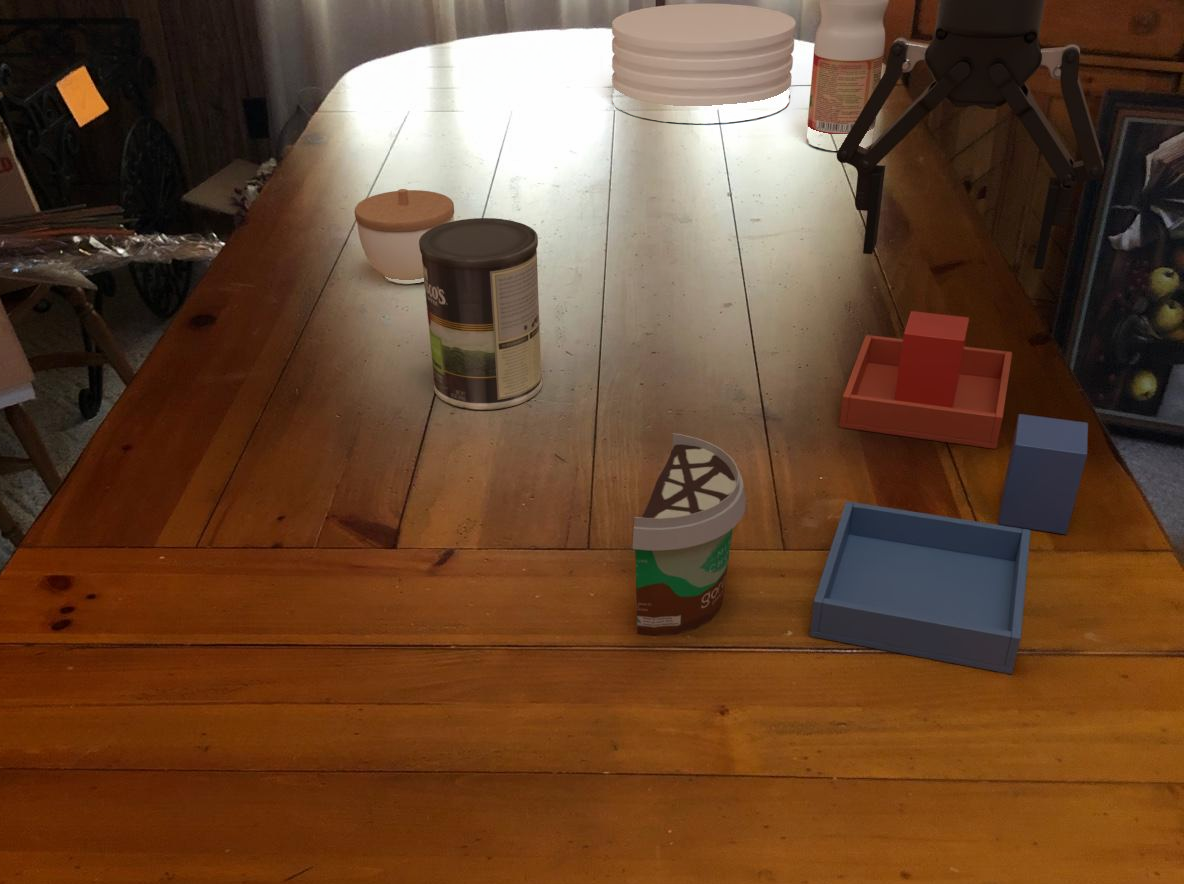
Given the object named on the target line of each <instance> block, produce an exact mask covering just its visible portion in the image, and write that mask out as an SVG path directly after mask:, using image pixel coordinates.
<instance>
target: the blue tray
mask: <svg viewBox="0 0 1184 884" xmlns="http://www.w3.org/2000/svg"><path fill="white" fill-rule="evenodd" d="M1031 533H1032V529H1026V528H1019V527H1013V526H1006V525H1000V524H995V523H989V522H983V521H977V520H969V519H963V518H957V517H950V516H944V515H937V514H931V513H924V512H918V511H912V510H906V509H899V508H893V507H886V506H882V505H881V506H880V505H874V504H866V503H861V502H854V501H845V502H844V505H843V508H842V512H841V515H840V518H839V521H838V524H837V527H836V530H835V533H834V536H833V539H832V542H831V546H830V549H829V551H828V555H827V558H826V561H825V564H824V568H823V571H822V574H821V577H820V580H819V584H818V586H817V589H816V592H815V595H814V598H813V602H812V611H811V621H810V628H809V629H810V630H809V637H812V638H815V639H816V638H817V639H821V640H828V641H832V642H838V643H841V644H842V643H843V644H849V645H852V646H853V645H854V646H859V647H864V648H869V649H875V650H880V651H885V652H891V653H897V654H900V655H901V654H902V655H907V656H911V657H912V656H913V657H917V658H923V659H928V660H934V661H939V662H943V663H949V664H955V665H960V666H965V667H969V668H970V667H971V668H974V669H975V668H976V669H981V670H987V671H991V672H996V673H1002V674H1008V675H1013V673H1014V668H1015V664H1016V660H1017V656H1018V651H1019V649H1020V644H1021V640H1022V632H1023V620H1024V608H1025V598H1026V587H1027V576H1028V567H1029V566H1028V565H1029V557H1030V556H1029V554H1030V553H1029V552H1030V544H1031V535H1032V534H1031Z"/></svg>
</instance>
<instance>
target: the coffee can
mask: <svg viewBox="0 0 1184 884" xmlns="http://www.w3.org/2000/svg"><path fill="white" fill-rule="evenodd" d="M538 245H539V236H538V233H537V231H536V230H535V229H533V228H532V227H531V226H528V225H527V224H524V223H522V222H519V221H514V220H510V219H504V218H496V217H477V218H475V217H474V218H466V219H457V220H454V221H453V222H448V223H445V224H442V225H439V226H436V227H434V228H432V229H430V230H428V231H427V232H425V233H424V234H423V235H422V236H421V238H420V240H419V247H420V252H421V254H422V263H423V274H424V283H423V284H424V291H425V303H426V313H427V321H428V331H429V342H430V351H431V353H430V354H431V362H432V373H433V391H434V393H435V395H436V396H437V397H438V398H439V399H440V400H441V401H443V402H445V403H446V404H448V405H450V406H454V407H457V408H460V409H466V410H474V411H493V410H501V409H502V410H503V409H507V408H511V407H512V408H513V407H515V406H518V405H520V404H524V403H526V402H527V401H529V400H531V399H533V398H534V397H536V396H537V394H538V393H539V392H540V391H541V389H542V387H543V383H544V381H543V377H542V375H543V374H542V352H541V329H540V303H539V301H540V300H539V276H538V275H539V274H538V273H539V272H538V249H537V248H538Z"/></svg>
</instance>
